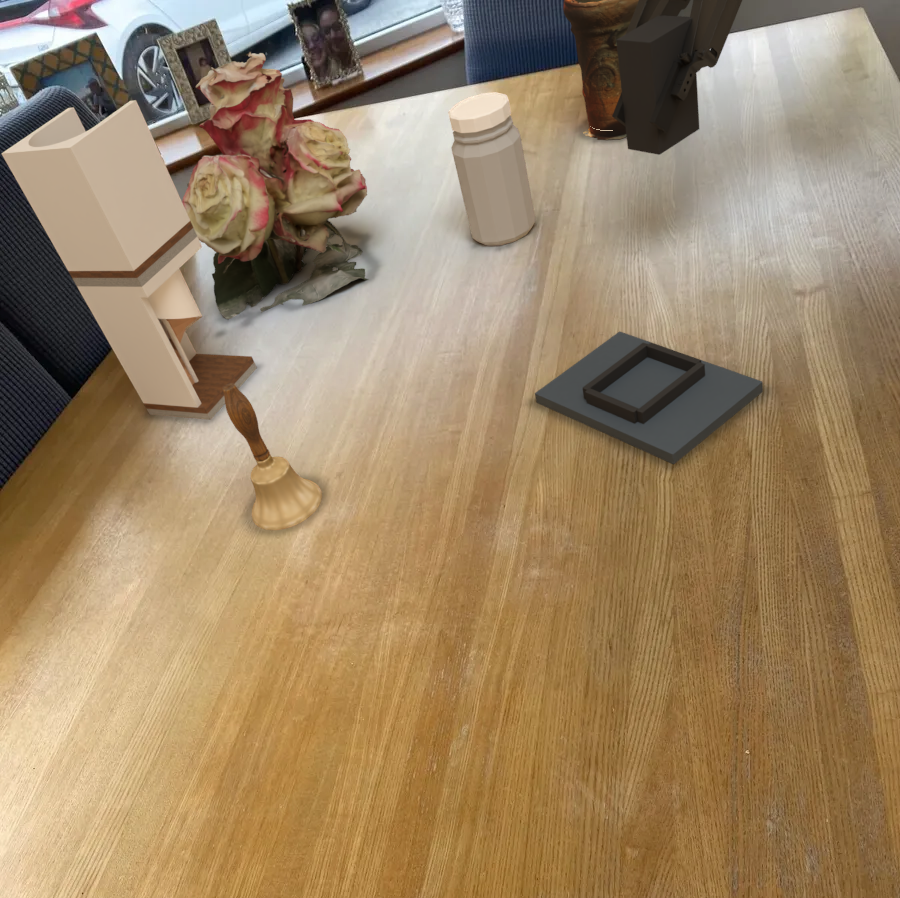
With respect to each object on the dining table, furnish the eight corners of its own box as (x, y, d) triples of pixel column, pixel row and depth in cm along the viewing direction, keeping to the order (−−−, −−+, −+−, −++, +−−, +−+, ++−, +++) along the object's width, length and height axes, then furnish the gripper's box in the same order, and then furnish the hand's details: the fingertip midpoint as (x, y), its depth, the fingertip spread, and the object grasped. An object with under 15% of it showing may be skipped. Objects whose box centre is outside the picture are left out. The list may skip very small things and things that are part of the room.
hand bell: (240, 530, 104) (176, 413, 93) (270, 480, 109) (213, 364, 98) (305, 532, 101) (247, 412, 90) (333, 481, 106) (282, 361, 95)
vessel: (658, 95, 159) (647, -41, 145) (677, 125, 149) (668, -18, 135) (574, 119, 161) (555, -14, 147) (587, 150, 151) (569, 11, 137)
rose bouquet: (215, 339, 137) (115, 128, 116) (240, 248, 157) (159, 54, 136) (385, 298, 133) (313, 71, 112) (388, 210, 153) (328, 5, 132)
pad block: (699, 129, 111) (693, 16, 103) (659, 155, 109) (650, 42, 101) (667, 124, 115) (658, 14, 106) (627, 149, 112) (615, 39, 104)
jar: (467, 254, 136) (436, 126, 124) (477, 221, 143) (449, 97, 130) (533, 244, 133) (508, 112, 121) (540, 211, 140) (518, 83, 127)
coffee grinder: (211, 421, 122) (70, 147, 97) (150, 415, 126) (1, 153, 102) (257, 369, 128) (135, 100, 103) (197, 366, 133) (68, 108, 108)
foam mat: (763, 393, 99) (762, 369, 96) (673, 466, 94) (671, 442, 92) (621, 342, 111) (618, 319, 109) (536, 404, 107) (532, 382, 105)
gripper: (645, -114, 105) (564, 102, 112) (783, -122, 94) (683, 119, 100) (680, -75, 111) (601, 129, 117) (814, -78, 99) (718, 148, 105)
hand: (639, 124), depth 108 cm, fingers closed on pad block, 5 cm apart
